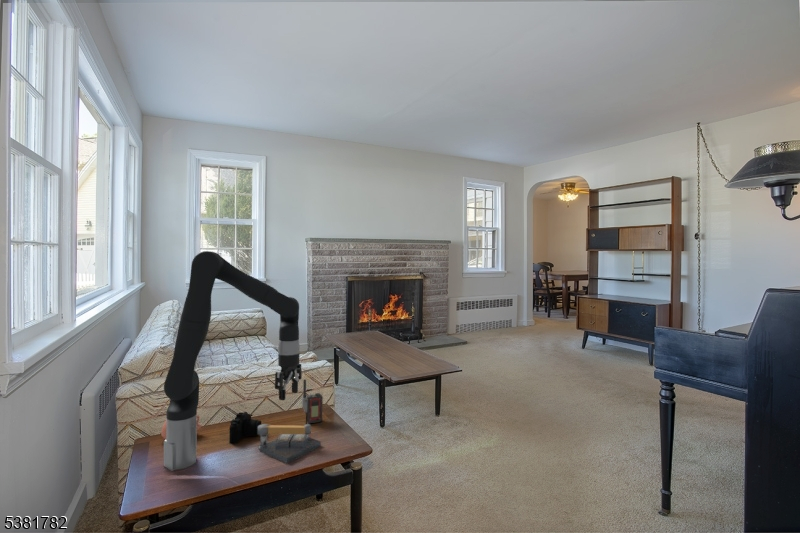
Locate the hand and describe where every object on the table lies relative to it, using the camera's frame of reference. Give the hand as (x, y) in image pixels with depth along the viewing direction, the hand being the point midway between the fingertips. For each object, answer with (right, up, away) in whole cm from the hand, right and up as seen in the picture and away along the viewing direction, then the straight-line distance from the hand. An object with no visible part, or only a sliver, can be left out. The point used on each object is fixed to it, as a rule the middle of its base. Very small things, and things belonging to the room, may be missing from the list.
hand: (288, 396), depth 147 cm
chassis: (0, -21, +3) cm, 21 cm away
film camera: (-21, -21, +14) cm, 33 cm away
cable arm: (-3, -15, +4) cm, 16 cm away
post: (-11, -21, +4) cm, 24 cm away
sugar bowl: (-47, -21, +13) cm, 53 cm away
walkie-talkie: (+3, -21, +27) cm, 34 cm away
